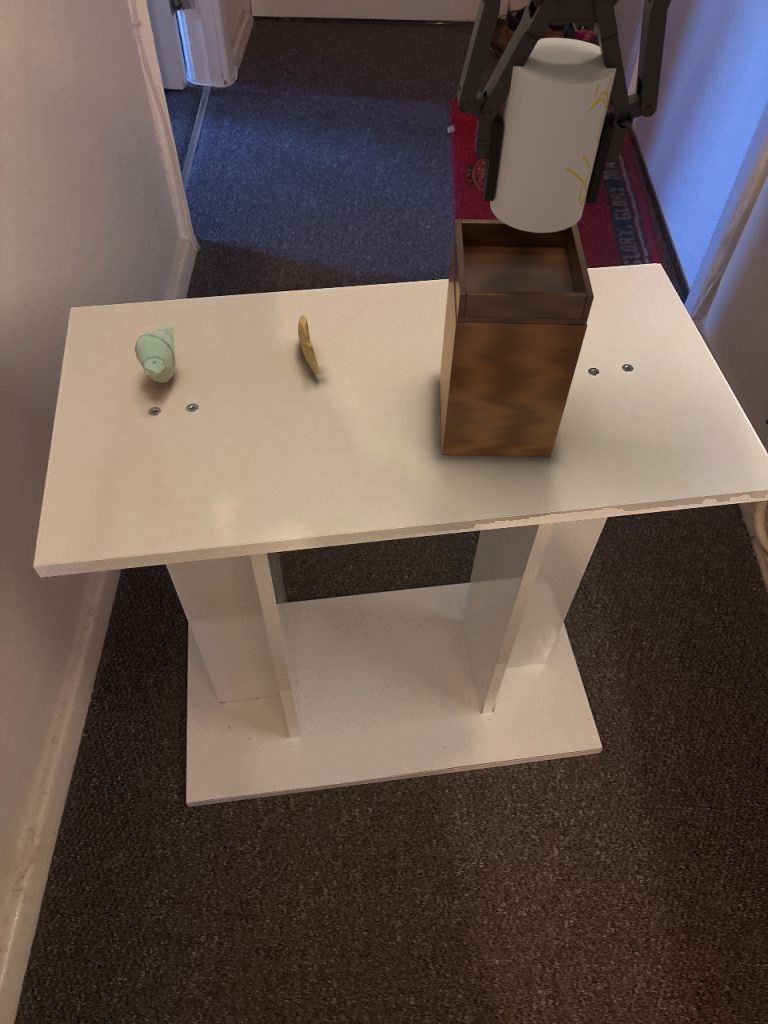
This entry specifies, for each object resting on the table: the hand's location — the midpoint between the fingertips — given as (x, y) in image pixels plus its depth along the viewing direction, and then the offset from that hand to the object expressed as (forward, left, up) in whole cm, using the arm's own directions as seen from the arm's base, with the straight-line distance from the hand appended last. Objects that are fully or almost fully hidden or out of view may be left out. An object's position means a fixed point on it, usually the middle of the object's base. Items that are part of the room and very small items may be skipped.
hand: (538, 193), depth 66 cm
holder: (+1, +1, -9) cm, 9 cm away
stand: (+1, +1, -27) cm, 27 cm away
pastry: (+23, -8, -27) cm, 36 cm away
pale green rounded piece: (+40, -4, -27) cm, 48 cm away
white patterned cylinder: (0, 0, -1) cm, 1 cm away
